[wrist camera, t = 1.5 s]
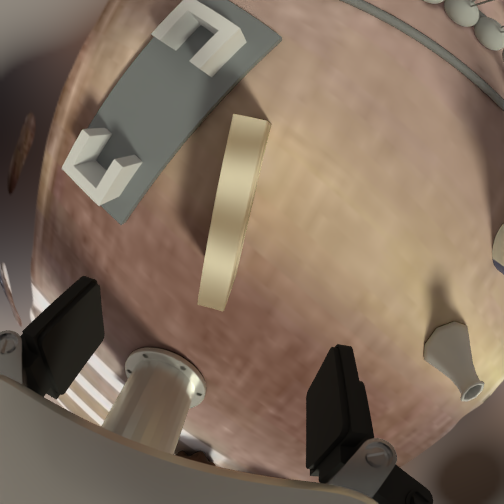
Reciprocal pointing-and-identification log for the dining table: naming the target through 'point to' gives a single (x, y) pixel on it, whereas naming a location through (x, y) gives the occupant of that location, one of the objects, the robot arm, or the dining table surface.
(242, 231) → the slat
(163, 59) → the frame
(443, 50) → the newton's cradle
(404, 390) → the dining table surface
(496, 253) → the water bottle
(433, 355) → the flask
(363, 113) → the dining table surface
